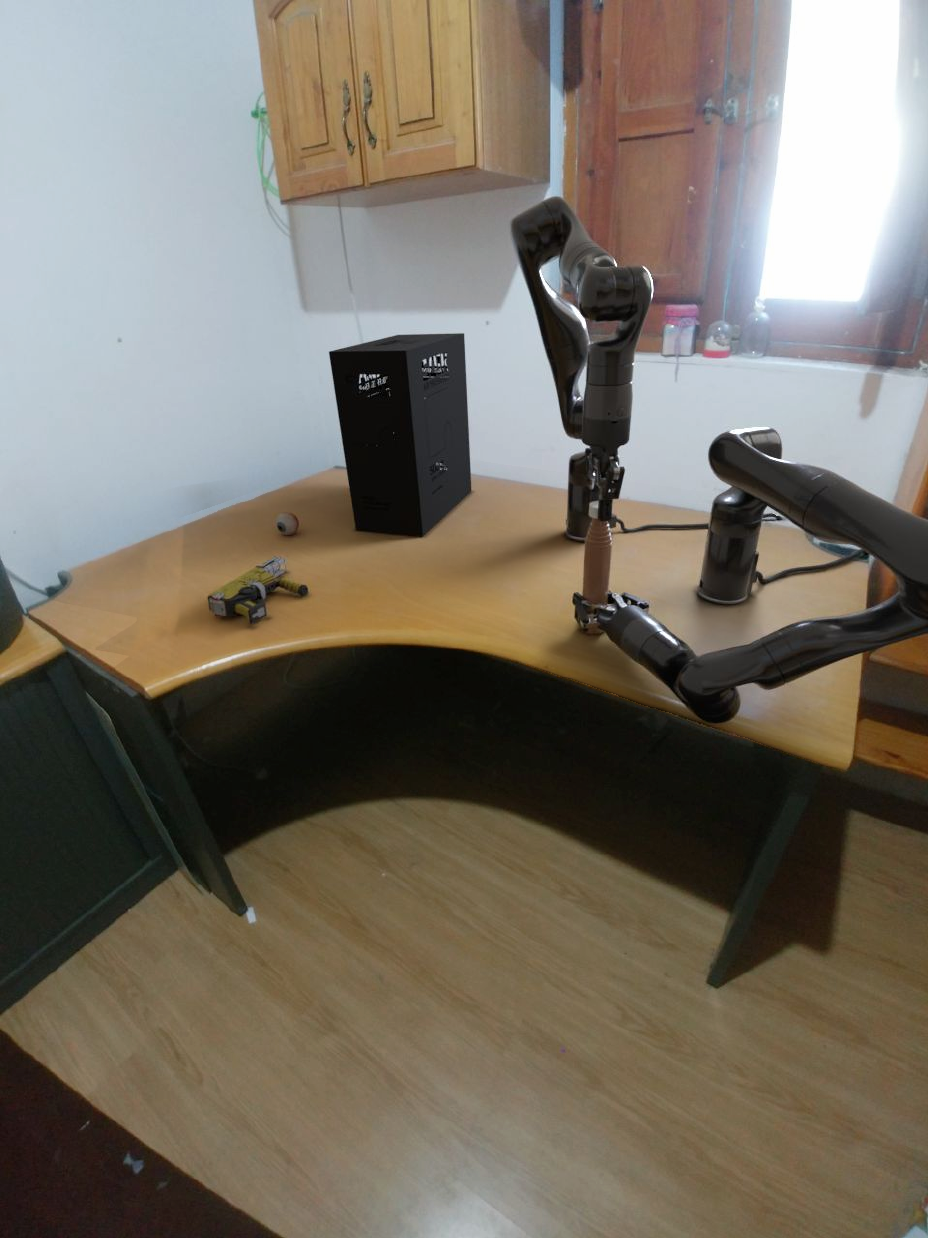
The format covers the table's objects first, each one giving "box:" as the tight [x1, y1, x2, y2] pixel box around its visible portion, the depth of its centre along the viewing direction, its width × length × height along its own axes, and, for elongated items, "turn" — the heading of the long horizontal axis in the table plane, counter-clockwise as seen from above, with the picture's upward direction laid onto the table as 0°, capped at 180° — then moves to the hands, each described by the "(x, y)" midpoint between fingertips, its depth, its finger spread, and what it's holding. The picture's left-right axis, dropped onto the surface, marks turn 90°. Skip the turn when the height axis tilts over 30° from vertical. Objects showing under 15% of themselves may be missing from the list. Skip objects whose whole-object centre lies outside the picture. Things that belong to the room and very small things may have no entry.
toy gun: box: [206, 555, 309, 625], centre depth 131 cm, size 5×24×15 cm
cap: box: [589, 501, 614, 519], centre depth 103 cm, size 4×4×2 cm
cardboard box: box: [328, 332, 472, 537], centre depth 166 cm, size 38×20×45 cm, turn 159°
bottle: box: [581, 518, 613, 635], centre depth 109 cm, size 5×5×24 cm
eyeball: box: [275, 511, 300, 536], centre depth 163 cm, size 6×6×6 cm
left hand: (600, 515), depth 104 cm, fingers closed on cap, 4 cm apart
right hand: (587, 593), depth 114 cm, fingers closed on bottle, 4 cm apart
